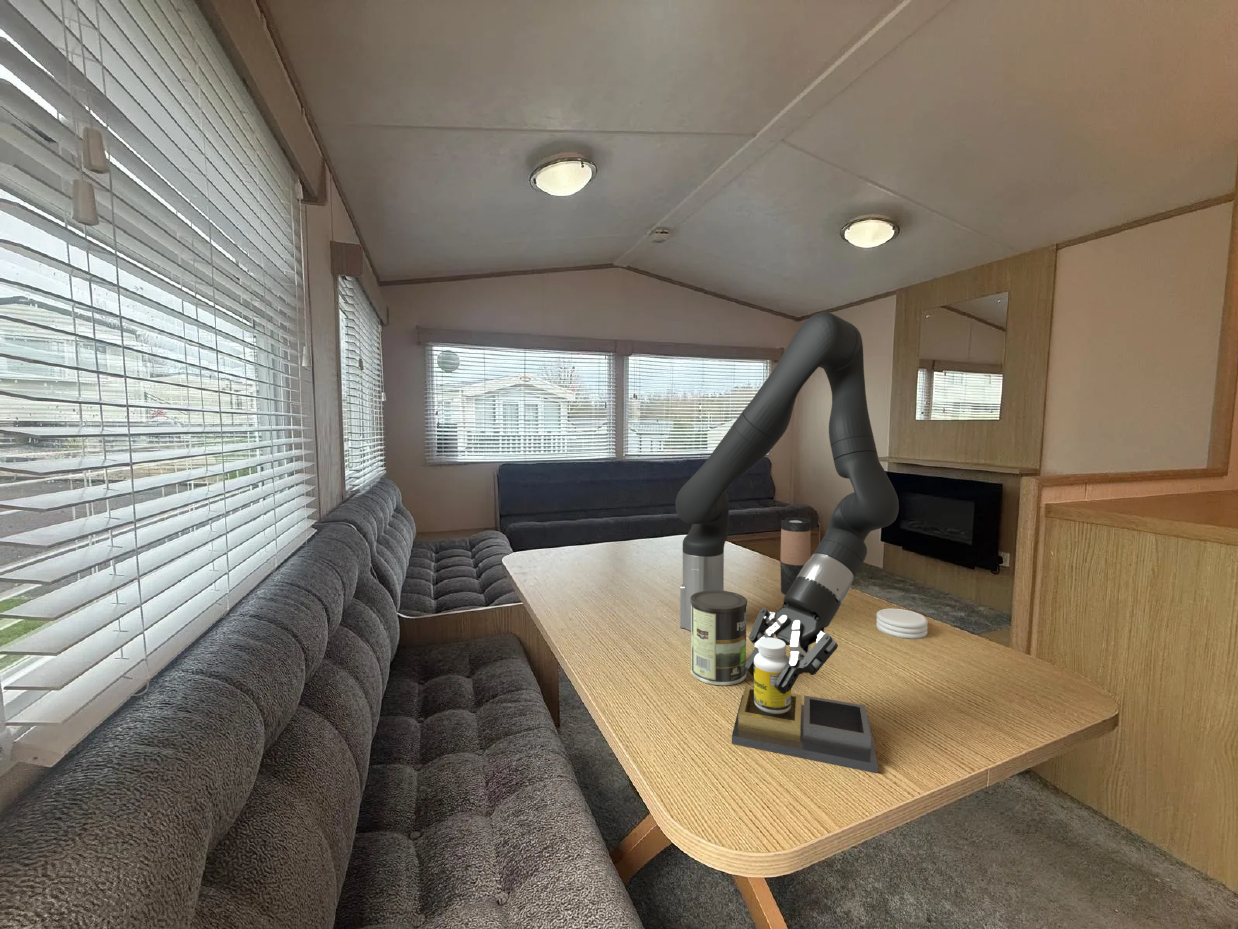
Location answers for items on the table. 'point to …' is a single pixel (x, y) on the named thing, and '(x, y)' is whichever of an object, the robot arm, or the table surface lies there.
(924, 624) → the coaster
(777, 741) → the two compartment tray
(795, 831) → the table surface
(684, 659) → the table surface
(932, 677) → the table surface
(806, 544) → the travel mug
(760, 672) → the supplement bottle
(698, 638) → the coffee can
